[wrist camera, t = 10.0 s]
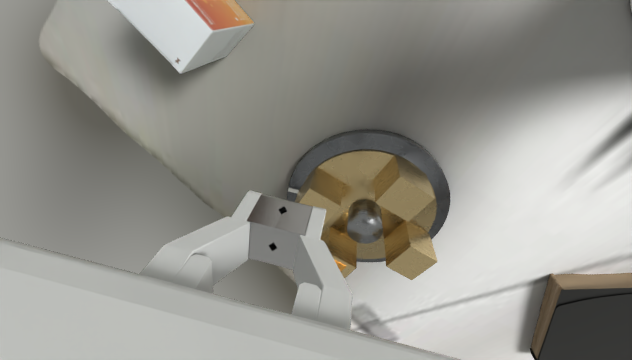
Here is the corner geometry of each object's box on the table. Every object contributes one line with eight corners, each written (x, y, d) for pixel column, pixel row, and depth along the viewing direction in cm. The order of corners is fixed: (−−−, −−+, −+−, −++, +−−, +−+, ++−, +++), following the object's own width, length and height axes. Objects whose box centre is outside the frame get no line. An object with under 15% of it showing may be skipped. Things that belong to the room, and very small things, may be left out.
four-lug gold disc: (347, 120, 35) (344, 142, 30) (467, 198, 38) (483, 229, 33) (277, 218, 45) (266, 246, 40) (377, 271, 49) (378, 304, 44)
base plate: (479, 154, 37) (484, 160, 35) (410, 268, 50) (411, 276, 48) (303, 110, 37) (300, 115, 35) (280, 236, 50) (278, 243, 49)
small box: (256, 24, 32) (216, 32, 23) (226, 57, 35) (180, 76, 26) (201, -42, 29) (133, -60, 21) (174, -1, 32) (102, -1, 23)
